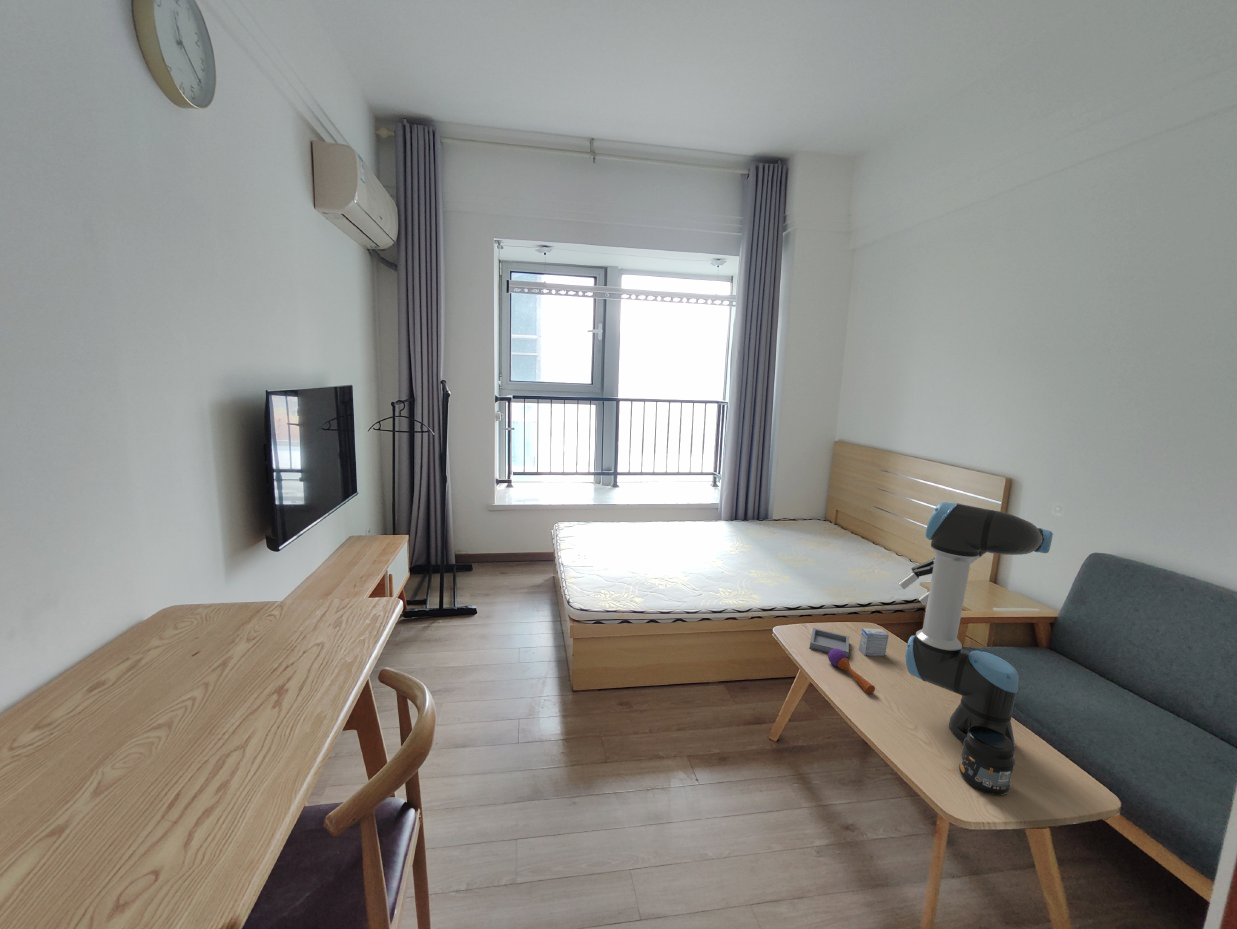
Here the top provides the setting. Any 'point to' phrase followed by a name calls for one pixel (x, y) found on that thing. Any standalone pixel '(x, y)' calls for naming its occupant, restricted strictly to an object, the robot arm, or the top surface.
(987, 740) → the supplement container
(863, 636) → the medicine box
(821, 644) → the tray
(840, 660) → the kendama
